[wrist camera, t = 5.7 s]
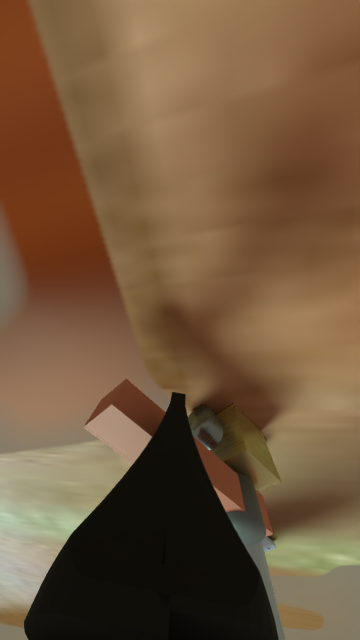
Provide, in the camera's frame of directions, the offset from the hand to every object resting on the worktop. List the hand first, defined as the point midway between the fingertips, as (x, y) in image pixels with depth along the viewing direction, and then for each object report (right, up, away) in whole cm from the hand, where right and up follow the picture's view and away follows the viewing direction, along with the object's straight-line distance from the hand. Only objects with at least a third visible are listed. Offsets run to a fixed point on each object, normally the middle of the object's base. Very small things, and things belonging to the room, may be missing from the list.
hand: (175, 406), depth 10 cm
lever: (+1, -4, +2) cm, 5 cm away
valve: (+5, -6, +7) cm, 11 cm away
